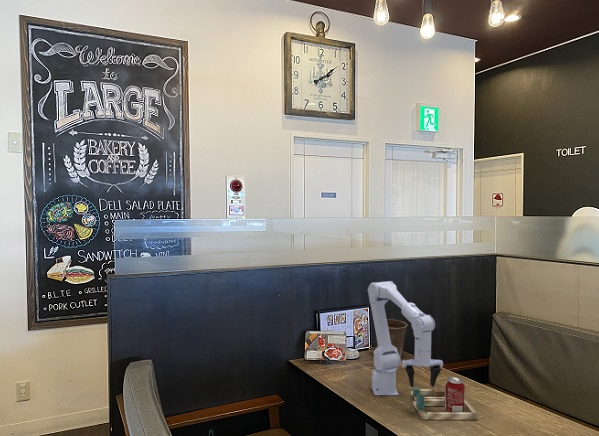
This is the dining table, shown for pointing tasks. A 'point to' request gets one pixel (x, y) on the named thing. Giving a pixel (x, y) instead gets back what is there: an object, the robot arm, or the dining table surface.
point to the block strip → (424, 392)
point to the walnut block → (438, 392)
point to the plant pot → (396, 334)
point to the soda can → (454, 395)
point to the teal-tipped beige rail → (422, 402)
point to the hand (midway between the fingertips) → (421, 386)
